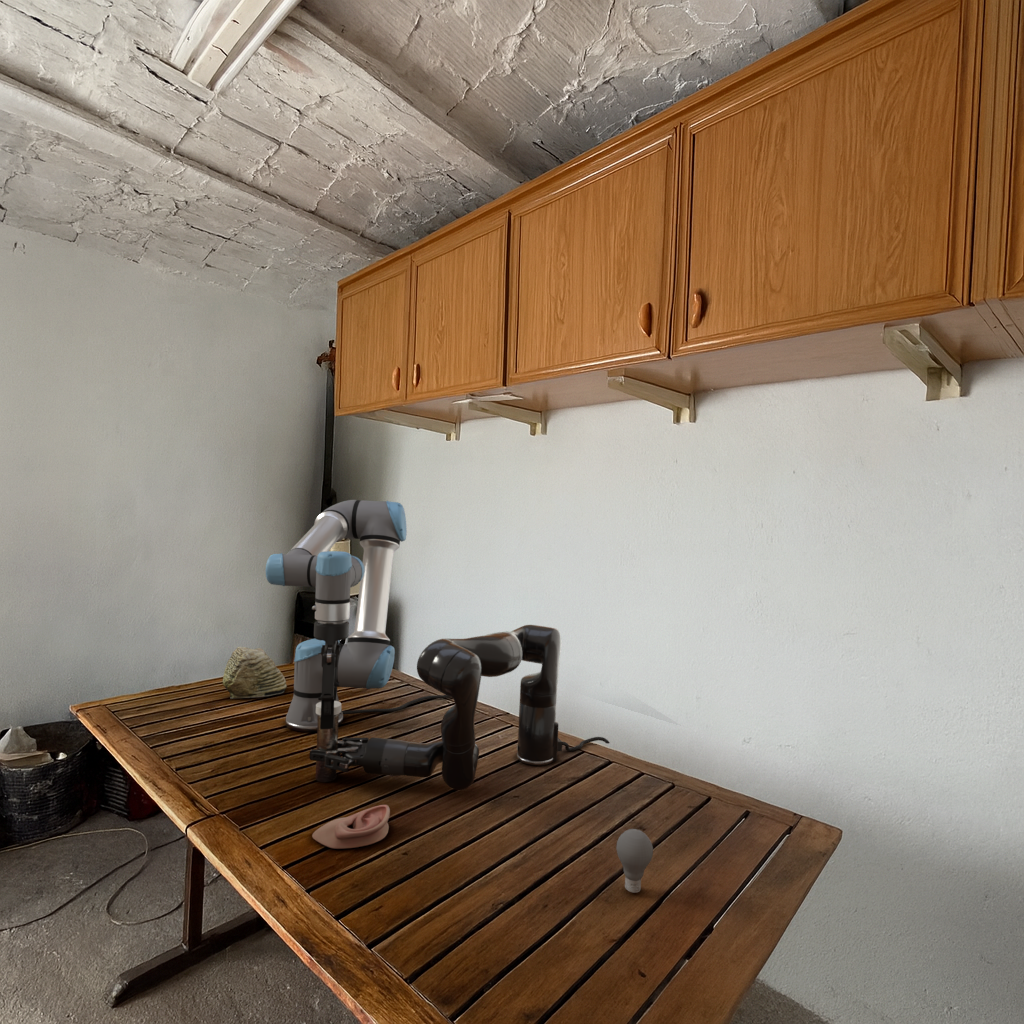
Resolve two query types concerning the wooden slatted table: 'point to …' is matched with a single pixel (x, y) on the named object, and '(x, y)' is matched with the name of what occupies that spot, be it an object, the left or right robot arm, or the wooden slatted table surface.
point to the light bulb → (634, 857)
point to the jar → (328, 742)
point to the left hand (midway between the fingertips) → (328, 721)
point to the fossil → (252, 674)
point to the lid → (336, 708)
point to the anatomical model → (355, 829)
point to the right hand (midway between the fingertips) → (315, 750)
